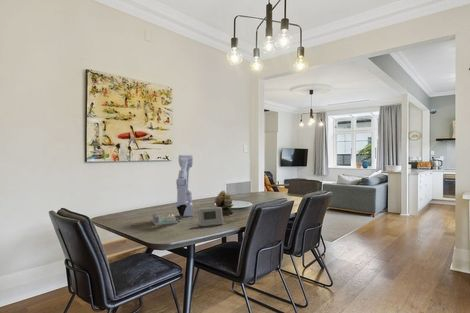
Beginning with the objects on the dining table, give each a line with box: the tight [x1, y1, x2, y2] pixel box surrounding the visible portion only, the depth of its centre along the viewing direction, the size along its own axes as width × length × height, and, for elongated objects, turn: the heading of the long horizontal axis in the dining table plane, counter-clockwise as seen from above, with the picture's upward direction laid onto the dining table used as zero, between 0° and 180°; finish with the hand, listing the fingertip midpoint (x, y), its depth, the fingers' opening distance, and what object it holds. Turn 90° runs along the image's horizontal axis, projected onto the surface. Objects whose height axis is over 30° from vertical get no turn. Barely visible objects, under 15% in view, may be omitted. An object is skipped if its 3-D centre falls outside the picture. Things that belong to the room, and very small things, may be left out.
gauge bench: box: [152, 213, 179, 226], centre depth 189 cm, size 14×11×5 cm
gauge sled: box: [165, 213, 176, 219], centre depth 190 cm, size 5×5×4 cm
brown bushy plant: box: [214, 190, 234, 215], centre depth 220 cm, size 18×12×17 cm, turn 48°
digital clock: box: [197, 206, 224, 227], centre depth 184 cm, size 16×9×11 cm, turn 103°
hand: (181, 216), depth 193 cm, fingers closed
